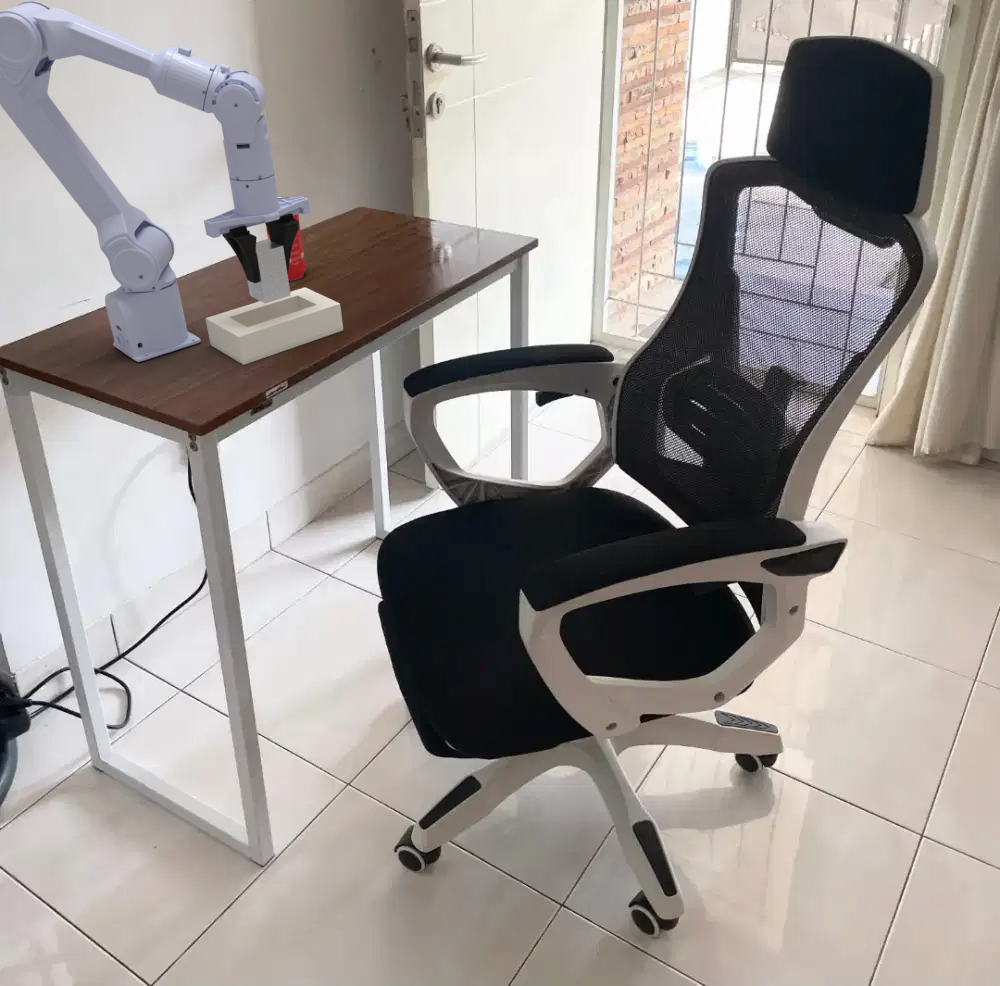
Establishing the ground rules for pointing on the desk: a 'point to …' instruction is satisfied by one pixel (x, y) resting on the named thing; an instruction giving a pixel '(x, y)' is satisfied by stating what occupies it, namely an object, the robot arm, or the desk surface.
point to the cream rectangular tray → (274, 325)
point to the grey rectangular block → (270, 273)
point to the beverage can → (295, 254)
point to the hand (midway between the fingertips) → (268, 276)
